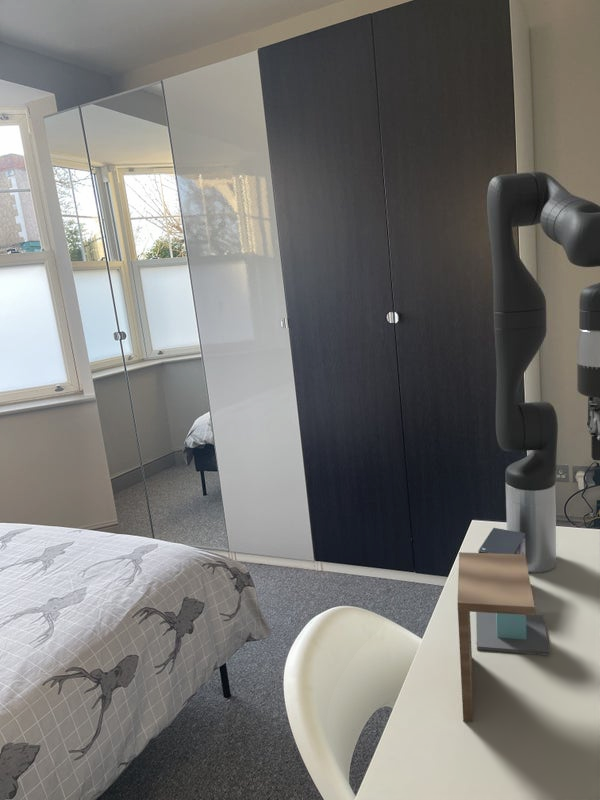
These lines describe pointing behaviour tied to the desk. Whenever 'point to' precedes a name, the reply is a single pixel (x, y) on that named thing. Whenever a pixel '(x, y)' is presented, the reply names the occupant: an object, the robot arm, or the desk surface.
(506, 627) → the teal block
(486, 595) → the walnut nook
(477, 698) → the desk surface
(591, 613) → the desk surface
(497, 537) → the small box
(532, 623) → the rubber mat
